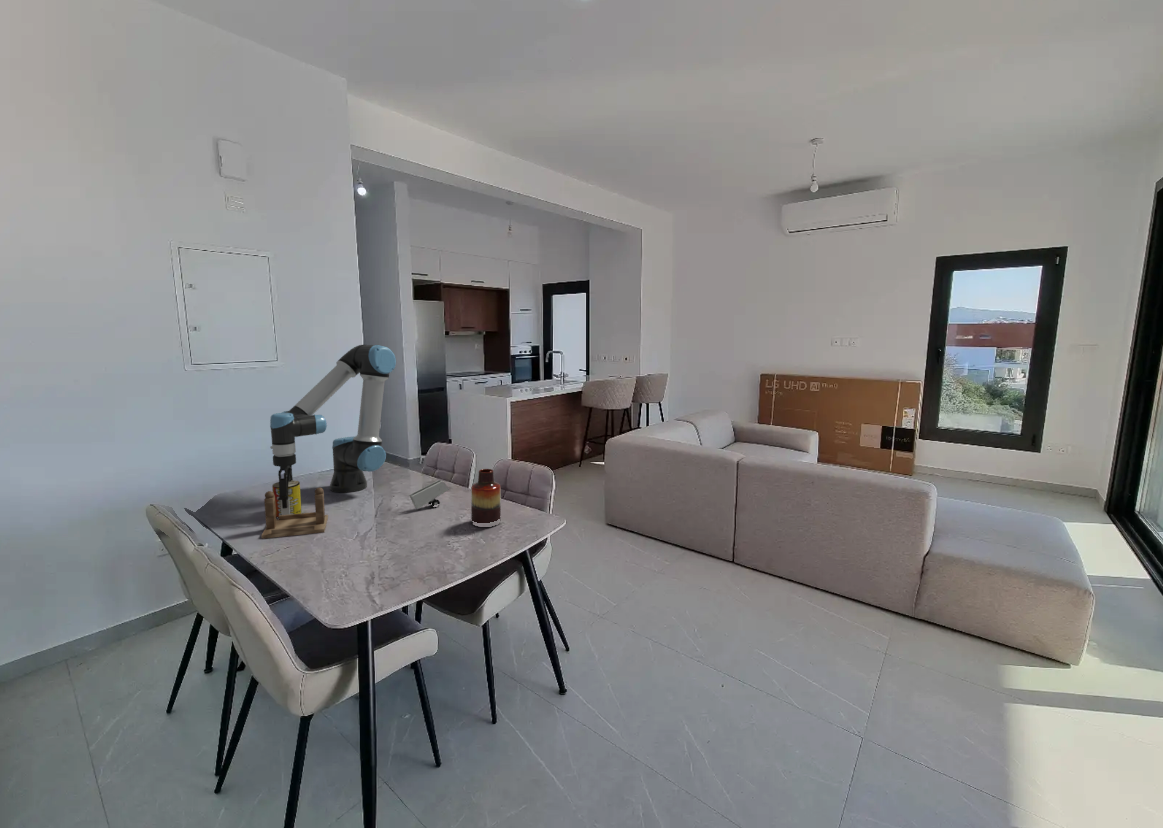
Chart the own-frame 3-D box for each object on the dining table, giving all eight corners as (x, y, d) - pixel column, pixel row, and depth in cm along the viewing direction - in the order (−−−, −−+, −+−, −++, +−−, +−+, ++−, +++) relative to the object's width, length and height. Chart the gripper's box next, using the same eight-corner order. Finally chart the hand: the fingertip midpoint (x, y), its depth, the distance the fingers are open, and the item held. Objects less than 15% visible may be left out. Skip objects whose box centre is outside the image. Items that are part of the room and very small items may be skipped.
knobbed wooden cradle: (327, 517, 194) (326, 481, 191) (324, 532, 180) (322, 493, 178) (270, 523, 186) (267, 485, 184) (261, 538, 173) (258, 498, 171)
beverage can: (271, 513, 196) (269, 483, 194) (296, 508, 202) (294, 479, 200) (279, 520, 190) (276, 488, 188) (305, 514, 196) (303, 484, 194)
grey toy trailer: (421, 517, 204) (453, 497, 212) (412, 496, 200) (445, 477, 209) (417, 514, 207) (448, 494, 215) (408, 494, 203) (440, 475, 212)
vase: (506, 523, 194) (506, 470, 190) (482, 530, 186) (482, 476, 183) (488, 515, 201) (489, 465, 198) (465, 522, 193) (465, 470, 190)
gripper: (277, 448, 201) (281, 503, 204) (267, 461, 181) (271, 522, 185) (299, 447, 204) (302, 501, 207) (291, 460, 184) (294, 520, 187)
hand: (287, 511), depth 196 cm, fingers closed on beverage can, 9 cm apart
